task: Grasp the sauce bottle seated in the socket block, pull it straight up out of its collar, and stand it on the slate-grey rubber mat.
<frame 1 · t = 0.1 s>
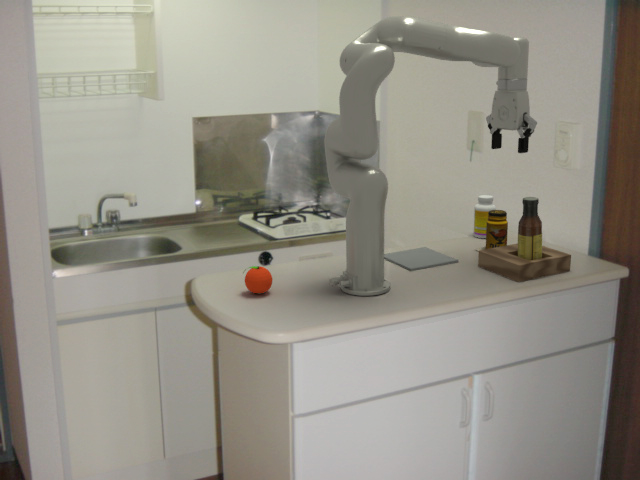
hand: (509, 150, 201), 31 cm above the countertop, fingers open, 9 cm apart
condiment: (493, 251, 221), on the countertop
sauce bottle: (528, 271, 201), resting in socket block
clementine: (257, 293, 188), on the countertop
socket block: (528, 270, 201), on the countertop
rubber mat: (418, 259, 213), on the countertop
supplement bottle: (484, 237, 236), on the countertop
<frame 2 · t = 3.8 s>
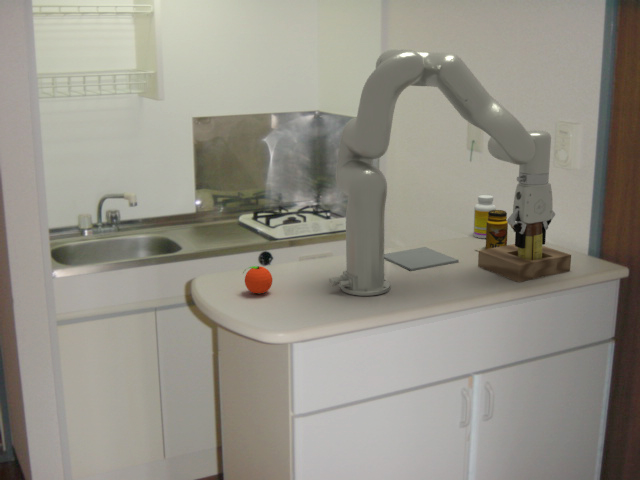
hand: (530, 244, 199), 7 cm above the countertop, fingers closed on sauce bottle, 6 cm apart
sauce bottle: (528, 271, 201), resting in socket block, touching gripper
everything else where it was.
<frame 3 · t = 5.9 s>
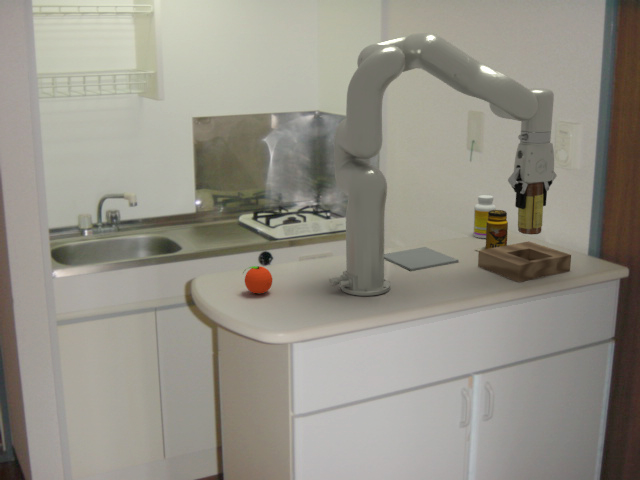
hand: (530, 205, 196), 18 cm above the countertop, fingers closed on sauce bottle, 6 cm apart
sauce bottle: (528, 233, 198), point 10 cm above the countertop, touching gripper
everything else where it was.
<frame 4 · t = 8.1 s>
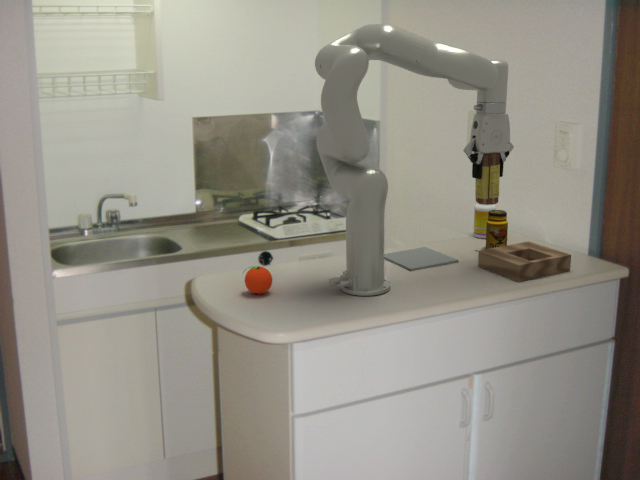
hand: (487, 176, 199), 25 cm above the countertop, fingers closed on sauce bottle, 6 cm apart
sauce bottle: (486, 203, 201), point 18 cm above the countertop, touching gripper
everything else where it was.
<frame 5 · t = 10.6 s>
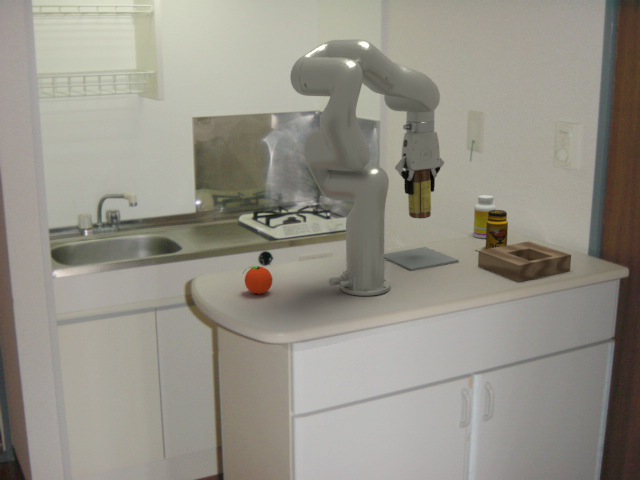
hand: (419, 191, 208), 20 cm above the countertop, fingers closed on sauce bottle, 6 cm apart
sauce bottle: (419, 217, 210), point 12 cm above the countertop, touching gripper
everything else where it was.
when the fingers open (9 cm above the countertop, at t = 12.8 s): sauce bottle drops 2 cm, resting on rubber mat.
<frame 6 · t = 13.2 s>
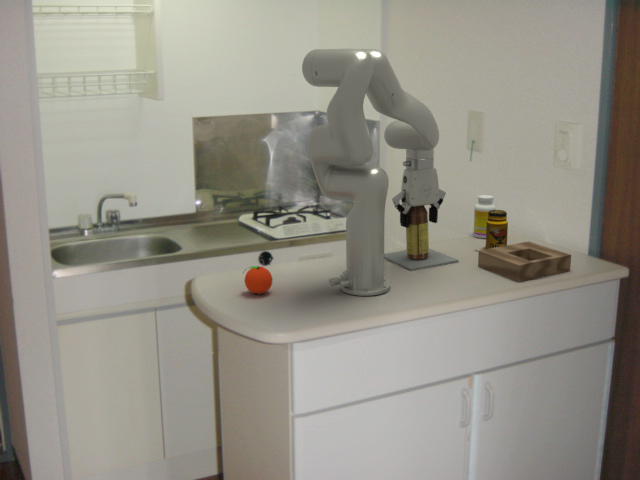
hand: (418, 224, 211), 10 cm above the countertop, fingers open, 9 cm apart
sauce bottle: (417, 258, 213), resting on rubber mat
everything else where it was.
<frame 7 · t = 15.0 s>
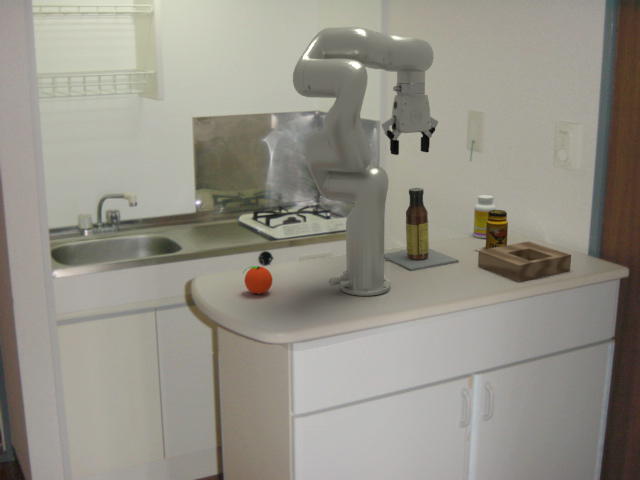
hand: (409, 153, 207), 30 cm above the countertop, fingers open, 9 cm apart
nothing on the countertop moved.
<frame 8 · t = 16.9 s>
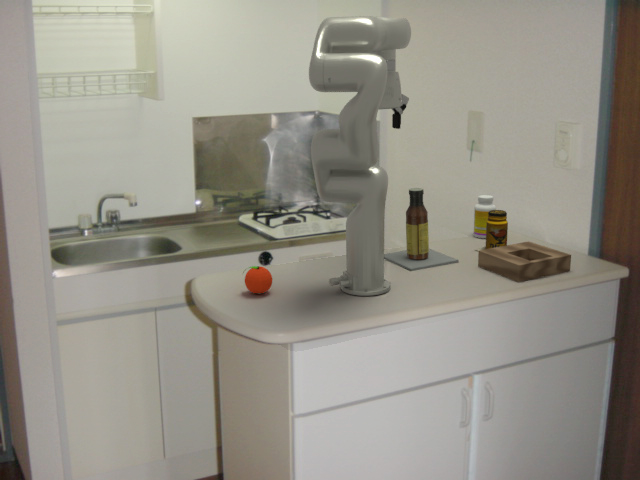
hand: (381, 129, 210), 36 cm above the countertop, fingers open, 9 cm apart
nothing on the countertop moved.
at the end: sauce bottle inside the target area on the rubber mat (0.5 cm from its centre), point 0.4 cm above the rubber mat's base; sauce bottle tilted 0°; the gripper is holding nothing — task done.
